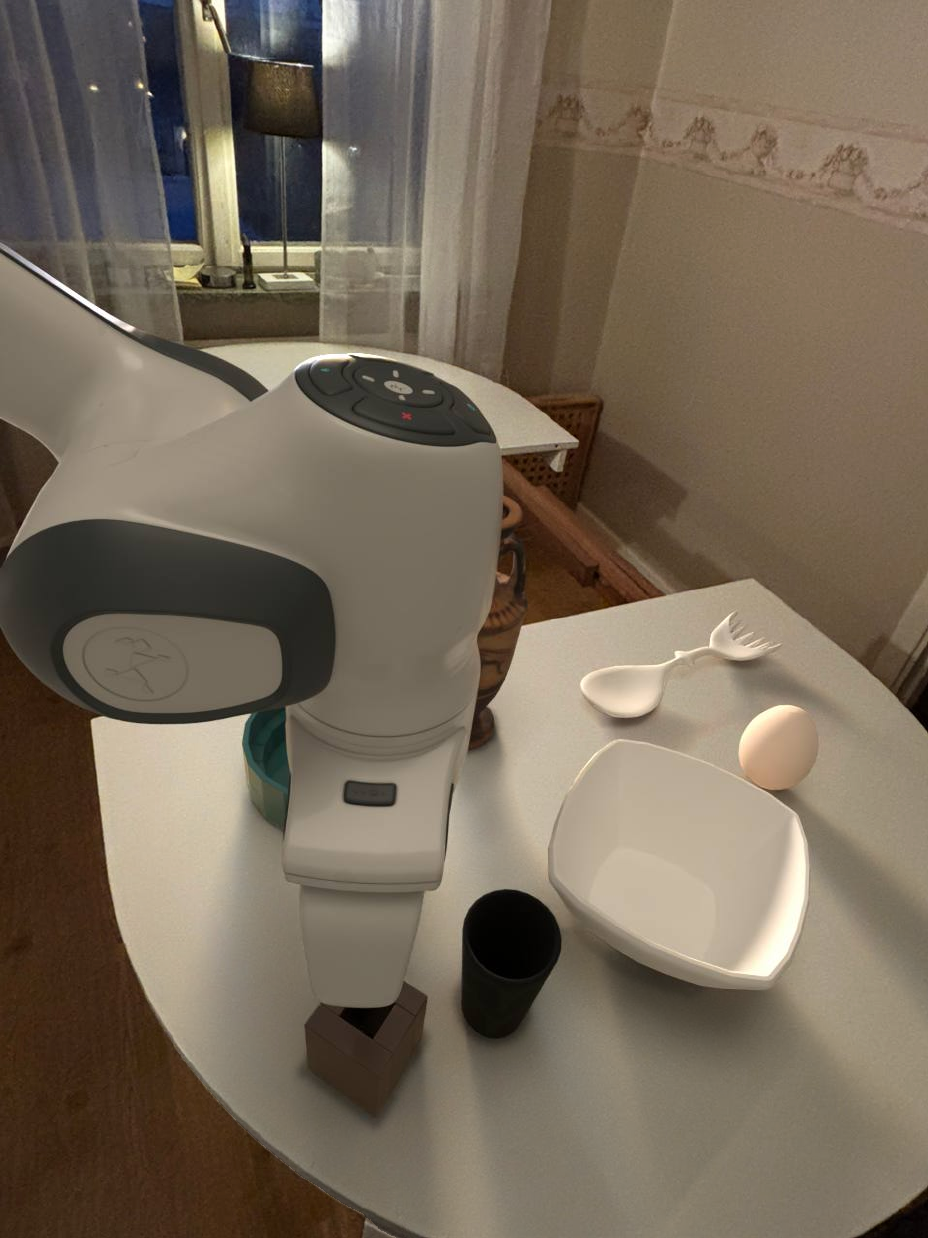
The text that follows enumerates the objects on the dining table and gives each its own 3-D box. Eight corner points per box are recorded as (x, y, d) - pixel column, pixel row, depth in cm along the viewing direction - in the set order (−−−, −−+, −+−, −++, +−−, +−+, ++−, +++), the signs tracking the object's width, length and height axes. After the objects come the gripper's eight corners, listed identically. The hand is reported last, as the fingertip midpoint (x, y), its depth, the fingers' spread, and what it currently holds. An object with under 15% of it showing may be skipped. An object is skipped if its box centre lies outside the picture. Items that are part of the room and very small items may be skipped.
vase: (412, 755, 85) (430, 534, 66) (416, 689, 93) (433, 476, 75) (505, 761, 86) (550, 543, 67) (501, 695, 94) (539, 486, 75)
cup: (488, 1073, 60) (508, 1006, 52) (431, 996, 64) (442, 924, 56) (555, 1013, 64) (582, 943, 56) (497, 945, 68) (515, 871, 61)
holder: (375, 1119, 56) (378, 1078, 51) (307, 1068, 59) (303, 1024, 54) (421, 1040, 61) (428, 996, 56) (356, 996, 63) (357, 950, 58)
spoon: (777, 661, 105) (786, 643, 103) (608, 738, 90) (615, 718, 88) (729, 625, 111) (737, 607, 109) (563, 691, 96) (568, 672, 94)
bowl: (743, 1084, 61) (796, 1022, 54) (501, 954, 67) (519, 883, 60) (779, 876, 77) (824, 807, 70) (581, 787, 84) (603, 716, 76)
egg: (767, 818, 83) (806, 750, 76) (713, 769, 88) (745, 701, 81) (809, 790, 87) (850, 723, 80) (755, 744, 92) (789, 678, 85)
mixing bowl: (345, 871, 72) (344, 828, 68) (213, 791, 78) (205, 747, 74) (435, 759, 85) (440, 717, 80) (316, 698, 90) (315, 655, 86)
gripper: (341, 577, 43) (340, 738, 52) (272, 900, 27) (287, 1056, 36) (449, 586, 43) (430, 744, 52) (443, 909, 27) (417, 1061, 36)
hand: (372, 873), depth 44 cm, fingers closed on stick, 2 cm apart
